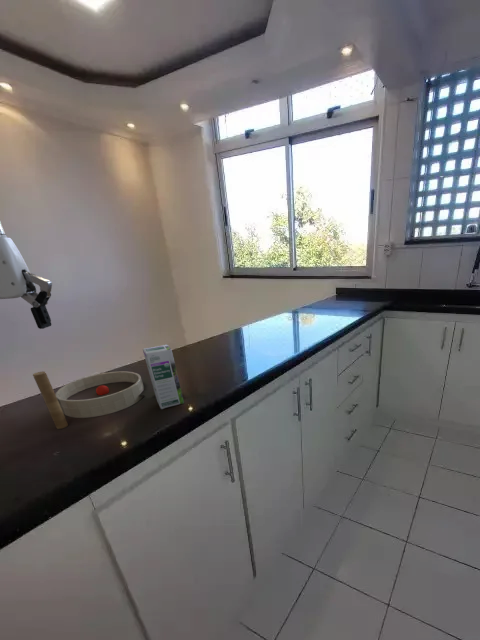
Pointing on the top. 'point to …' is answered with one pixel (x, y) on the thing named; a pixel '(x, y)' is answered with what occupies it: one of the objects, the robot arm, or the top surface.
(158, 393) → the syrup box
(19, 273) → the robot arm
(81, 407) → the ring
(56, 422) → the stick
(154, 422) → the top surface
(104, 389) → the ball
